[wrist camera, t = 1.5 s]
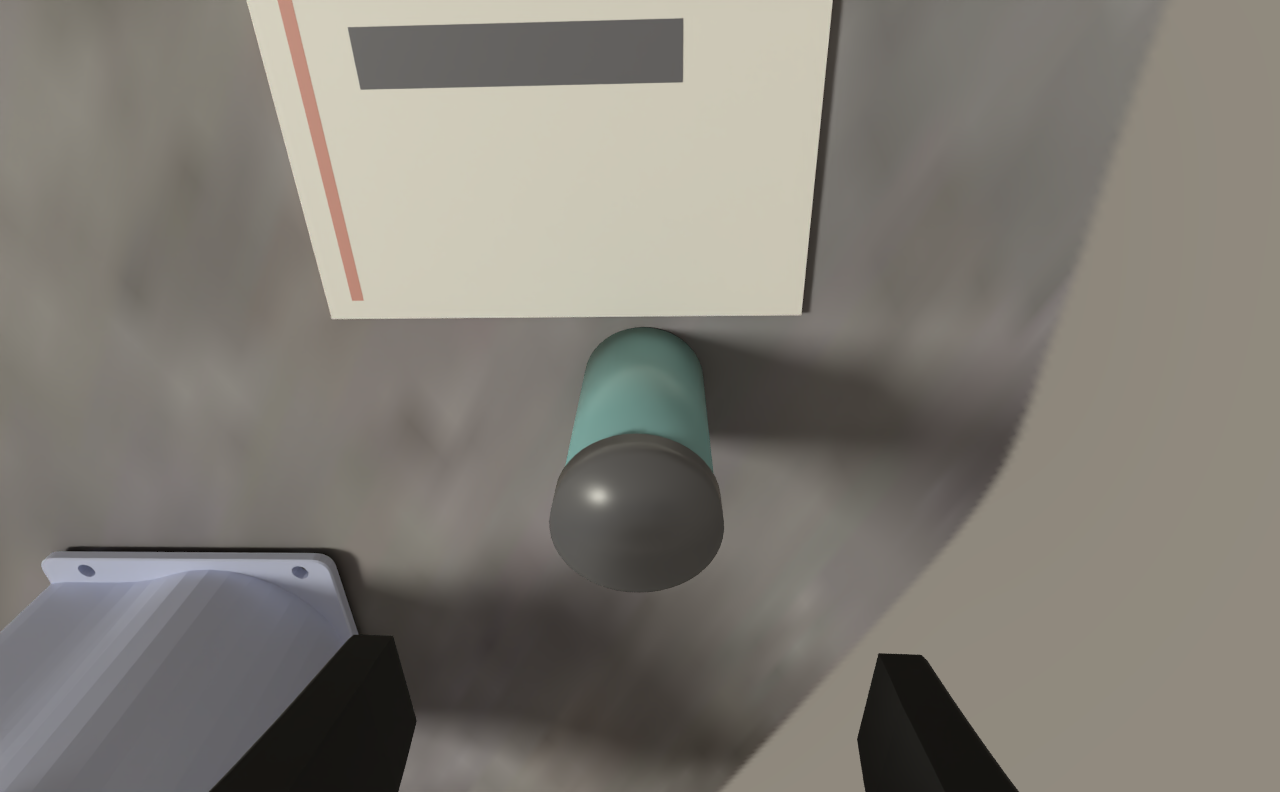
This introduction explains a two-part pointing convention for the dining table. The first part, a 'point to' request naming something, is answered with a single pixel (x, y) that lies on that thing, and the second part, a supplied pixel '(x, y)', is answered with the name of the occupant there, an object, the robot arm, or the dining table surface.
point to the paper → (552, 152)
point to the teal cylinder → (639, 468)
